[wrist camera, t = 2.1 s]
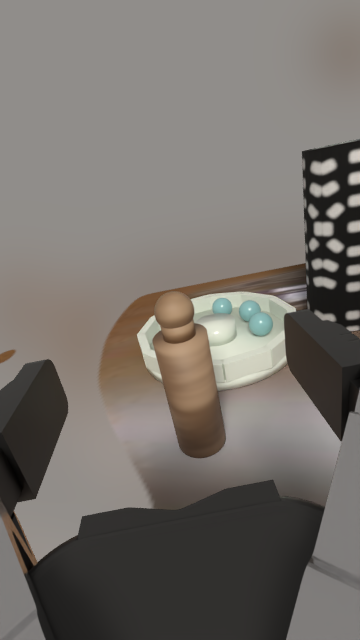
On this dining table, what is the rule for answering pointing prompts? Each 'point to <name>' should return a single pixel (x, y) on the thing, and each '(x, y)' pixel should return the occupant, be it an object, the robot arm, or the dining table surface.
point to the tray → (233, 337)
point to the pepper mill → (188, 376)
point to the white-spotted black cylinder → (333, 232)
